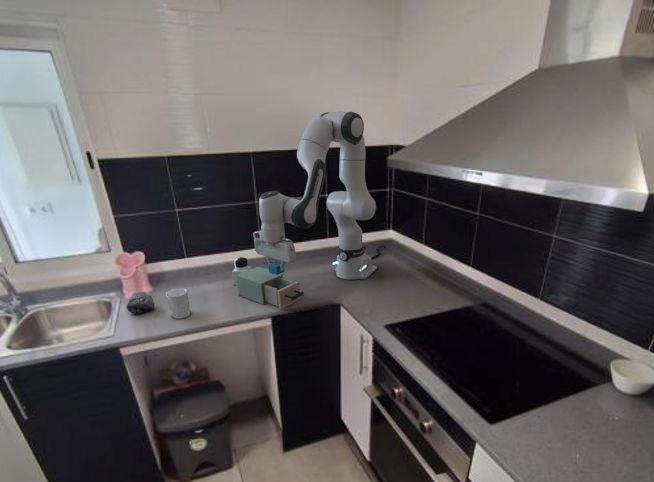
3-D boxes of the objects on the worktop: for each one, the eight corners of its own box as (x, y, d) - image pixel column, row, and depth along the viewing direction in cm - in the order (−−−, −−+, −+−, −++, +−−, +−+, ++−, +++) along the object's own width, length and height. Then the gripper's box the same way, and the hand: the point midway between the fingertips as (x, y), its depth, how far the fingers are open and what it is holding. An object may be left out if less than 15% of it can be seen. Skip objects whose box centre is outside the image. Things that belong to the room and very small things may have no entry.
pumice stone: (141, 322, 152) (161, 306, 158) (131, 308, 147) (152, 292, 153) (126, 315, 157) (146, 300, 162) (116, 301, 152) (137, 286, 157)
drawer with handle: (308, 301, 159) (307, 284, 156) (289, 312, 152) (288, 294, 148) (276, 290, 170) (274, 274, 166) (256, 299, 162) (254, 282, 158)
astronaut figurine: (253, 279, 183) (250, 256, 177) (248, 285, 177) (245, 261, 171) (239, 279, 183) (235, 255, 178) (233, 285, 177) (230, 261, 171)
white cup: (171, 312, 154) (165, 290, 150) (191, 309, 157) (186, 286, 152) (171, 321, 148) (165, 298, 143) (192, 317, 150) (187, 294, 146)
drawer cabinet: (284, 294, 168) (282, 274, 164) (263, 304, 160) (260, 283, 155) (260, 285, 177) (258, 266, 172) (239, 295, 168) (236, 275, 163)
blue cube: (277, 269, 158) (276, 261, 157) (284, 271, 156) (284, 263, 154) (269, 272, 155) (268, 264, 153) (276, 275, 153) (276, 267, 151)
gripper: (298, 237, 145) (300, 271, 151) (262, 229, 156) (265, 260, 162) (286, 241, 140) (289, 276, 147) (250, 232, 151) (254, 265, 158)
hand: (276, 268), depth 155 cm, fingers closed on blue cube, 4 cm apart
